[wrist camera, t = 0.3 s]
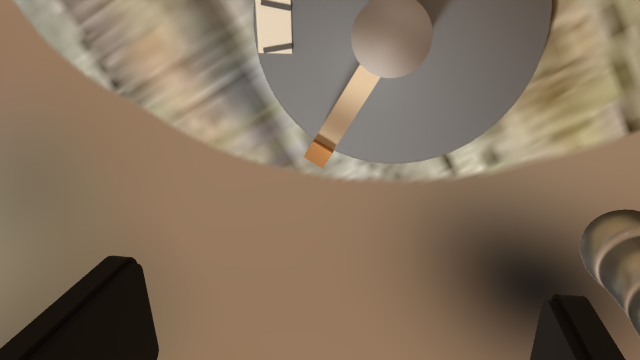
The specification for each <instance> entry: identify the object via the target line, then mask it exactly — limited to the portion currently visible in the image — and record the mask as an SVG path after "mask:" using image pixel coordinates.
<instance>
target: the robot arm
mask: <svg viewBox="0 0 640 360" xmlns="http://www.w3.org/2000/svg"><path fill="white" fill-rule="evenodd" d="M158 352H159V348H158V342H157V337H156V332H155V327H154V322H153V317H152V313H151V308H150V303H149V298H148V293H147V288H146V283H145V278H144V273H143V269H142V267H141V265H140V264H137V262H136V260H135V259H134V258H132V257H122V256H108V257H107V258H105V259H104V260H103V261H102V262H101V263H99V264H98V265H97V266H96V267H95V268H94V269H92V270H91V271H90V272H89V273H88V274H87V275H85V277H83V278H82V279H81V280H80V281H79V282H77V283H76V284H75V285H74V286H73V287H71V288H70V289H69V290H68V291H67V292H66V293H64V294H63V295H62V296H61V297H60V298H59V299H58V300H56V301H55V302H54V303H53V304H52V305H51V306H49V307H48V308H47V309H46V310H45V311H44V312H42V313H41V314H40V315H39V316H38V317H37V318H35V319H34V320H33V321H32V322H31V323H30V324H28V325H27V326H26V327H25V328H24V329H23V330H22V331H20V332H19V333H18V334H17V335H16V336H15V337H13V338H12V339H11V340H10V341H9V342H8V343H6V344H5V345H4V346H3V347H2V348H1V349H0V360H157V357H158ZM530 360H625V358H624V357H623V355H622V353H621V352H620V350H619V348H618V347H617V345H616V344H615V342H614V340H613V339H612V337H611V336H610V334H609V332H608V331H607V329H606V328H605V326H604V324H603V323H602V321H601V320H600V318H599V316H598V315H597V313H596V312H595V310H594V308H593V307H592V305H591V303H590V302H589V300H588V299H587V298H586V297H584V296H574V295H562V294H555V295H553V297H552V299H551V300H544V301H543V303H542V307H541V312H540V316H539V320H538V325H537V330H536V334H535V339H534V344H533V349H532V353H531V358H530Z"/></svg>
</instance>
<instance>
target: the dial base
mask: <svg viewBox="0 0 640 360" xmlns="http://www.w3.org/2000/svg"><path fill="white" fill-rule="evenodd" d="M370 1H372V0H255V1H254V32H255V41H256V47H257V51H258V55H259V59H260V63H261V66H262V69H263V71H264V74H265V77H266V79H267V82H268V84H269V85H270V87H271V89H272V91H273V93H274V95H275V97H276V98H277V100H278V101H279V103H280V104H281V106H282V107H283V109H284V110H285V111H286V112H287V113H288V115H289V116H290V117H291V118H292V119H293V120H294V121H295V123H296V124H298V125H299V126H300V127H301V128H302V129H303V130H304V131H305V132H306V133H308V134H309V135H310V136H312V137H313V138H315V137H316V135H317V133H318V132H319V130H320V128H321V127H322V125H323V123H324V122H325V120H326V119H327V117H328V115H329V114H330V112H331V110H332V109H333V107H334V105H335V104H336V102H337V100H338V99H339V97H340V95H341V94H342V92H343V91H344V89H345V87H346V86H347V84H348V82H349V81H350V79H351V77H352V76H353V74H354V72H355V71H356V69H357V67H358V66H359V64H360V63H359V62H358V60H357V58H356V57H355V54H354V52H353V48H352V43H351V34H352V28H353V24H354V21H355V19H356V17H357V15H358V14H359V12H360V11H361V10H362V9H363V7H364V6H365V5H367V4H368V3H369V2H370ZM417 1H418V2H419V3H420V4H421V5H422V6H423V8H424V9H425V10H426V12H427V14H428V15H429V18H430V20H431V24H432V29H433V39H432V45H431V48H430V51H429V53H428V55H427V57H426V58H425V60H424V61H423V62H422V64H421V65H420V66H419V67H418V68H416V69H415V70H414V71H412V72H411V73H409V74H407V75H404V76H401V77H397V78H383V77H380V79H379V81H378V82H377V84H376V85H375V87H374V88H373V90H372V91H371V93H370V95H369V96H368V98H367V99H366V101H365V102H364V104H363V105H362V107H361V109H360V110H359V112H358V113H357V115H356V116H355V118H354V120H353V121H352V123H351V124H350V126H349V127H348V129H347V130H346V132H345V134H344V135H343V137H342V138H341V140H340V141H339V143H338V144H337V146H336V148H335V149H334V150H335V151H337V152H339V153H342V154H345V155H347V156H350V157H353V158H357V159H361V160H365V161H369V162H377V163H410V162H419V161H423V160H427V159H431V158H435V157H438V156H441V155H444V154H447V153H449V152H452V151H454V150H456V149H458V148H460V147H462V146H464V145H466V144H468V143H470V142H471V141H473V140H474V139H476V138H477V137H479V136H480V135H482V134H483V133H485V132H486V131H487V130H488V129H490V128H491V127H492V126H493V125H494V124H495V123H497V122H498V121H499V120H500V119H501V118H502V117H503V116H504V115H505V114H506V113H507V112H508V110H509V109H510V108H511V107H512V106H513V105H514V104H515V102H516V101H517V100H518V98H519V97H520V95H521V94H522V93H523V91H524V90H525V88H526V87H527V85H528V83H529V81H530V80H531V78H532V76H533V74H534V72H535V71H536V68H537V66H538V63H539V61H540V58H541V56H542V53H543V51H544V47H545V43H546V40H547V36H548V32H549V27H550V20H551V12H552V0H417Z"/></svg>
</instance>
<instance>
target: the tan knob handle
mask: <svg viewBox="0 0 640 360" xmlns="http://www.w3.org/2000/svg"><path fill="white" fill-rule="evenodd" d="M432 39H433V29H432V24H431V20H430V18H429V15H428V14H427V12H426V10H425V9H424V8H423V6H422V5H421V4H420V3H419V2H418V1H417V0H372V1H370V2H369V3H368V4H367V5H365V6H364V7H363V9H362V10H361V11H360V12H359V14H358V15H357V17H356V19H355V21H354V24H353V28H352V34H351V43H352V48H353V52H354V54H355V57H356V58H357V60H358V62H359V63H360V64H359V66H358V67H357V69H356V71H355V72H354V74H353V76H352V77H351V79H350V81H349V82H348V84H347V86H346V87H345V89H344V91H343V92H342V94H341V95H340V97H339V99H338V100H337V102H336V104H335V105H334V107H333V109H332V110H331V112H330V114H329V115H328V117H327V119H326V120H325V122H324V123H323V125H322V127H321V128H320V130H319V132H318V133H317V135H316V137H315V138H314V140H313V142H312V144H311V145H310V147H309V149H308V150H307V152H306V154H305V156H304V157H305V158H306V159H308V160H310V161H311V162H313V163H315V164H316V165H318V166H319V167H321V168H323V167H324V166H325V164H326V163H327V161H328V159H329V158H330V156H331V155H332V153H333V151H334V149H335V148H336V146H337V144H338V143H339V141H340V140H341V138H342V137H343V135H344V134H345V132H346V130H347V129H348V127H349V126H350V124H351V123H352V121H353V120H354V118H355V116H356V115H357V113H358V112H359V110H360V109H361V107H362V105H363V104H364V102H365V101H366V99H367V98H368V96H369V95H370V93H371V91H372V90H373V88H374V87H375V85H376V84H377V82H378V81H379V79H380V77H383V78H397V77H401V76H404V75H407V74H409V73H411V72H412V71H414V70H415V69H416V68H418V67H419V66H420V65H421V64H422V62H423V61H424V60H425V58H426V57H427V55H428V53H429V51H430V48H431V45H432Z"/></svg>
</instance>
